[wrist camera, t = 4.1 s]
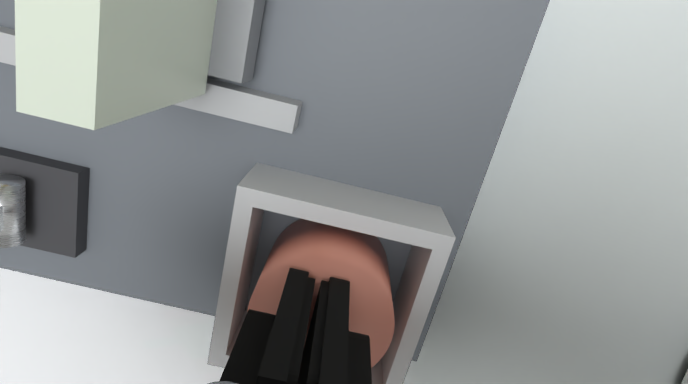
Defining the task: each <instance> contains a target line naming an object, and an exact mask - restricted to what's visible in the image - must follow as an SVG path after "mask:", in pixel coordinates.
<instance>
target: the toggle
mask: <svg viewBox="0 0 688 384" xmlns="http://www.w3.org/2000/svg"><path fill="white" fill-rule="evenodd" d="M25 240H26V187H25V179H24V178H23V177H20V176H17V175H10V174H0V248H10V247H15V246H18V245H20V244H22V243H24V242H25Z"/></svg>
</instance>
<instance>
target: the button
mask: <svg viewBox="0 0 688 384" xmlns="http://www.w3.org/2000/svg"><path fill="white" fill-rule="evenodd" d="M289 268H294V269H299V270H303V271H308V272H309V275H308V277H310V278H314V279H316V280H315V286H314V292H313V297H312V303H311V309H310V315H309V320H308V326H307V332H306V338H307V334H308V330H309V326H310V323H311V319H312V315H313V311H314V307H315V303H316V299H317V295H318V291H319V287H320V284H321V281H322V280H323V281H327V282H329V279H330V277H334V278H338V279H343V280H347V281H350V300H349V331H351V332H356V333H360V334H365V335H369V337H370V351H371V368H372V367H373V366H374V365H375V364H376V363H378V362H379V361H380V359H381V358H382V357H383V356H384V355H385V353H386V351H387V350H388V348H389V346H390V344H391V341H392V338H393V334H394V327H395V319H394V309H393V301H392V293H391V285H390V277H389V269H388V261H387V256H386V253H385V250H384V248H383V246H382V244H381V242H380V241H379V239H378V238H377V237H376V236H373V235H368V234H364V233H360V232H356V231H351V230H347V229H343V228H339V227H335V226H330V225H326V224H322V223H318V222H313V221H309V220H305V219H300V220H298V221H296V222H294V223H292V224H291V225H289V226H288V227H287V228H286V229H285V230H284V231H283V232H282V233H281V234H280V235H279V237H278V238H277V240H276V241H275V243H274V245H273V247H272V250H271V252H270V254H269V257H268V259H267V261H266V264H265V266H264V268H263V271H262V273H261V275H260V277H259V280H258V282H257V284H256V287H255V289H254V291H253V294H252V296H251V298H250V301H249V305H248V310H249V309H251V310H256V311H260V312H265V313H269V314H274V315H276V312H277V309H278V306H279V302H280V299H281V295H282V292H283V289H284V285H285V282H286V278H287V275H288V272H289ZM248 310H247V312H248ZM306 338H305V342H306ZM304 346H305V344H304ZM303 350H304V349H303Z"/></svg>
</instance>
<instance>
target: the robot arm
mask: <svg viewBox="0 0 688 384" xmlns="http://www.w3.org/2000/svg"><path fill="white" fill-rule="evenodd" d="M308 275H309V272H308V271H303V270H299V269H294V268H289V272H288V275H287V278H286V282H285V285H284V289H283V292H282V295H281V299H280V302H279V306H278V309H277V312H276V315H274V314H269V313H265V312H260V311H256V310H251V309H249V310H248V312H247V314H246V317H245V319H244V322H243V324H242V327H241V329H240V332H239V334H238V337H237V339H236V341H235V344H234V346H233V349H232V351H231V354H230V356H229V359H228V361H227V364H226V366H225V369H224V371H223V374H222V376H221V379H220V381H219V382H212V383H209V384H372V373H371V351H370V337H369V335H365V334H360V333H356V332H351V331H349V300H350V281H347V280H343V279H338V278H334V277H330V279H329V282H327V281H323V280H322V281H321V284H320V287H319V291H318V295H317V299H316V303H315V307H314V311H313V315H312V319H311V323H310V326H309V330H308V334H307V338H306V332H307V326H308V320H309V315H310V309H311V303H312V297H313V292H314V286H315V280H316V279H314V278H310V277H308ZM305 338H306V342H305ZM304 344H305V346H304ZM303 349H304V350H303ZM681 384H688V370H687V372H686V374H685V376H684V379H683V381H682V383H681Z"/></svg>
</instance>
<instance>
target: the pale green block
mask: <svg viewBox="0 0 688 384" xmlns="http://www.w3.org/2000/svg"><path fill="white" fill-rule="evenodd" d="M264 6H265V0H15V58H16V112H21V113H25V114H29V115H33V116H37V117H41V118H45V119H50V120H54V121H58V122H62V123H66V124H70V125H74V126H79V127H83V128H87V129H91V130H97V129H100V128H103V127H106V126H109V125H112V124H115V123H118V122H121V121H124V120H127V119H130V118H133V117H136V116H139V115H142V114H145V113H149V112H152V111H155V110H158V109H161V108H164V107H167V106H170V105H173V104H176V103H179V102H182V101H185V100H188V99H191V98H194V97H197V96H200V95H203V94H205V90H206V83H207V75H210V76H214V77H218V78H222V79H226V80H230V81H234V82H238V83H244V82H247V81H250V80H252V79H253V73H254V67H255V61H256V55H257V49H258V43H259V37H260V31H261V24H262V18H263V12H264Z"/></svg>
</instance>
